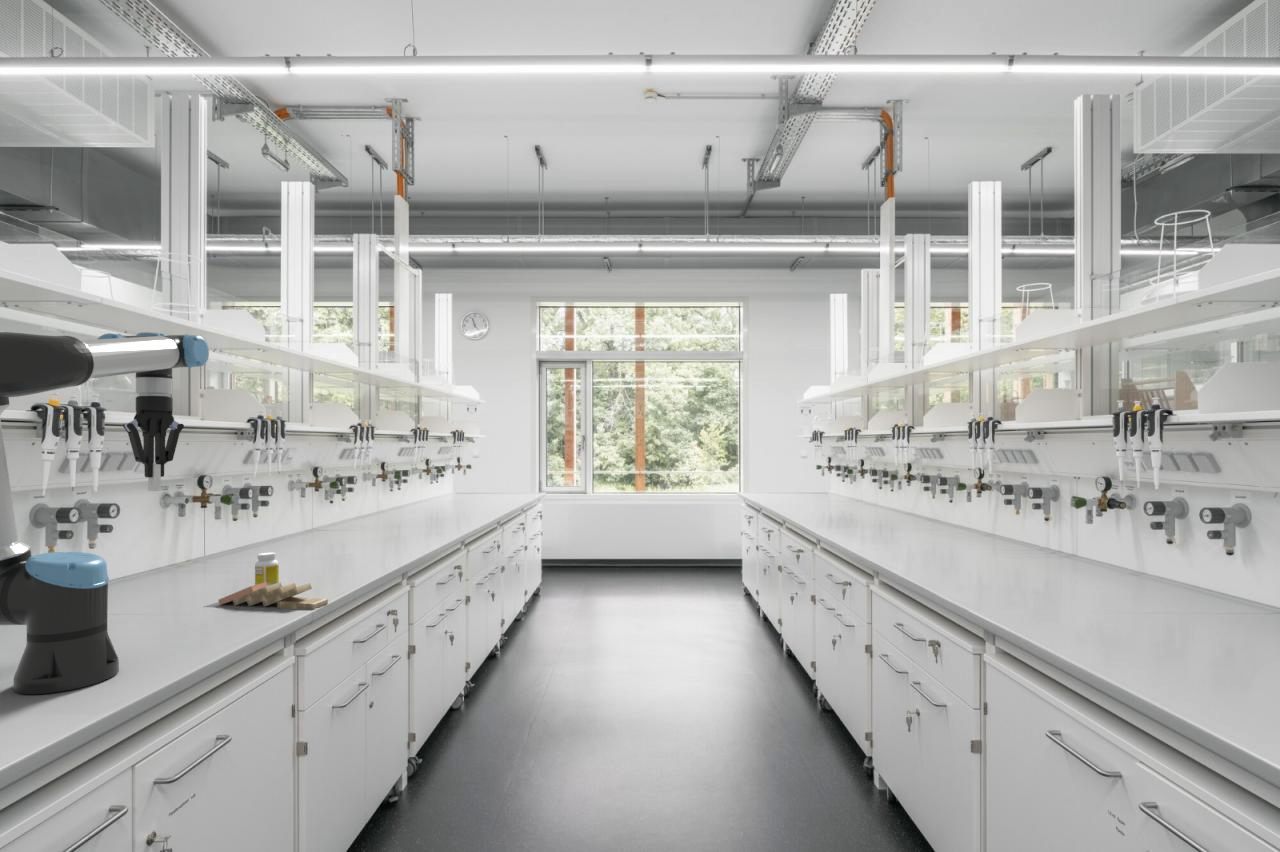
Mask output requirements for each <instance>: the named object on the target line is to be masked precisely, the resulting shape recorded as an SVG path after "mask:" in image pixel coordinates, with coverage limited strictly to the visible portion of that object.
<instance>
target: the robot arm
mask: <svg viewBox="0 0 1280 852" xmlns="http://www.w3.org/2000/svg"><path fill="white" fill-rule="evenodd" d="M209 350H210V349H209V345H208V343H207V341H206V340H205V339H204V338H203V337H202V336H201V335H195V334H171V335H170V334H166V333H162V332H159V333H158V332H148V331H147V332H139V333H137V334H135V335H124V334H121V333H111V332H110V333H104V334H101V335H100V336H99V337H98V338H95V339H82V340H81V339H80V338H78V337H75V336H71V335H46V334H45V335H44V334H36V333H35V334H34V333H23V332H12V331H11V332H10V331H0V416H1V415H2V414H3V413H4V412H5V410H6V409H8V408H9V407H10V399H9V398H15V397H16V398H18V397H24V396H30V395H31V396H32V395H34V394H35V395H36V394H40V393H45V392H49V391H55V390H61V389H65V388H71V387H77V386H81V385H83V384H85V383H87V382H89V380H90V379H91V380H92V379H98V378H106V377H113V376H122V375H129V374H130V375H131V374H135V394H137V396H136V397H135V415H134V417H133V419H132V420H131V421H130V422H126V423H123V425H122V427H123V428H124V430H125V431H126V432H127V434H128V438H129V441H130V446H131V449H132V453H133V457H134V460H135V462H137V463H141V464H143V466H144V477H145V478H147V479H148V486H147V489H148V490H147V491H149V492H160V491H161V488H162V487H161V482H162V479H161V478H162V477H163V478H164V476H165V465H166V464H167V463H168V462H172V461H173V460H174V457H175V453H176V449H177V444H178V441H179V437H180V434H181V432H182V430H183V429H184V428H185V425H184V424H183V423H179V422H178V421H176V420H175V417H174V415H173V406H174V405H173V401H174V400H173V398H172V396H171V395H173V369H177V368H190V369H191V368H197V367H203V366H204V365H206V363H207V362H208V361H209V357H210V351H209ZM1 422H2V420H1V419H0V626H26V645H25V648H24V650H23V653H22V655H21V658H20V661H19V663H18V666H17V668H16V671H15V673H14V676H13V688H12V689H13V691H14V692H15V693H17V694H21V695H22V694H23V695H42V694H45V695H46V694H53V693H58V692H59V693H61V692H65V691H66V692H67V691H71V690H77V689H80V688H84V687H88V686H92V685H95V684H98V683H101V682H104V681H106V679H107V680H109V679H110V678H114V677H115V676H116V675H117V674H118V673H119V672H120V671H119V670H120V660H119V657H118V653H116V650H115V647H114V645H113V643H112V641H111V639H110V636H109V632H108V609H109V608H108V605H109V604H108V603H109V602H108V600H109V598H108V595H109V591H108V590H109V579H110V578H109V574H108V566H107V565H108V563H107V562H106V559H104V557H103V556H101V555H98V554H96V553H89V552H83V551H81V552H80V551H67V552H66V551H65V552H64V551H54V552H53V551H52V552H44V553H43V552H42V553H39V554H35V555H32V551H31V547H30V545H29V544H27V543H24V542H23V541H21V540H19V538H18V530H17V529H18V528H17V523H16V516H15V509H14V508H15V507H14V502H13V496H12V489H11V483H10V476H9V468H8V467H9V466H8V463H7V461H8V460H7V455H6V450H5V449H6V448H5V441H4V440H5V439H4V435H3V427H2V423H1ZM139 428H140V430H141V432H142V434H141V435H142V438H143V440H141V436H140V433H139V431H138V429H139ZM169 428H170V431H169V433H168V437H167V430H168V429H169ZM166 437H167V441H166ZM142 441H143V444H142Z"/></svg>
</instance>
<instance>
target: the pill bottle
mask: <svg viewBox="0 0 1280 852" xmlns="http://www.w3.org/2000/svg"><path fill="white" fill-rule="evenodd" d="M276 555H277V554H276V552H261V553H258V554H257V560H258V561H257V562H255V565H254V585H257V584H260V583H264V582H267V585H268V586H269V585H273V584H276V583H280V580H279V579H280V578H279V576H280V575H279V574H280V573H279V561H278V560H277V559H276Z"/></svg>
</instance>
